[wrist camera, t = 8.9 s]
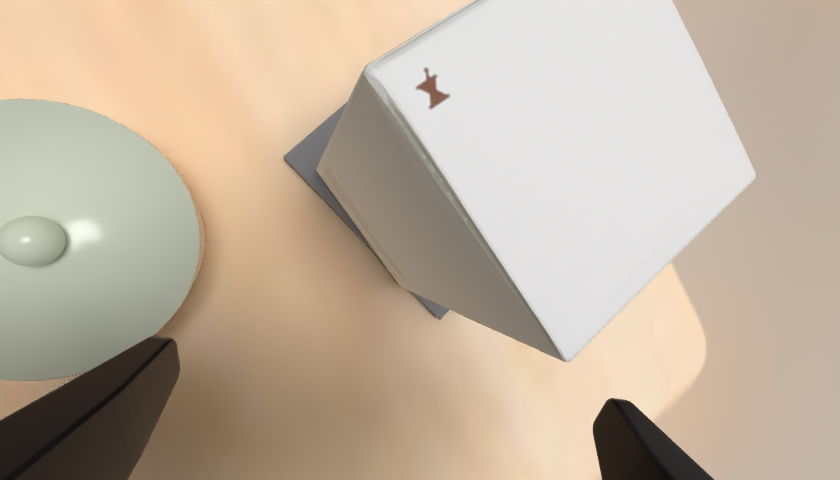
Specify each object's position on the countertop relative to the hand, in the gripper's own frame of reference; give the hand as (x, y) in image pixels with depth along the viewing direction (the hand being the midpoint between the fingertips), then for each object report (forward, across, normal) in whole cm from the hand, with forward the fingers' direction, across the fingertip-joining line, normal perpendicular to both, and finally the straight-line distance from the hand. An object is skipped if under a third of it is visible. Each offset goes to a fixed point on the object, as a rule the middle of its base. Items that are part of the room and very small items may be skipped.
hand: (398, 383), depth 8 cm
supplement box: (+13, 0, +1) cm, 13 cm away
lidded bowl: (+9, +13, +4) cm, 16 cm away
